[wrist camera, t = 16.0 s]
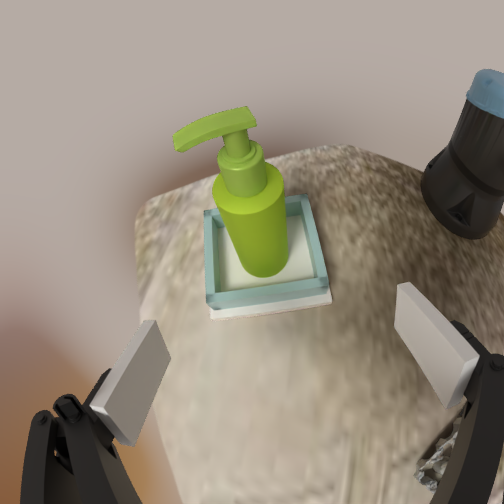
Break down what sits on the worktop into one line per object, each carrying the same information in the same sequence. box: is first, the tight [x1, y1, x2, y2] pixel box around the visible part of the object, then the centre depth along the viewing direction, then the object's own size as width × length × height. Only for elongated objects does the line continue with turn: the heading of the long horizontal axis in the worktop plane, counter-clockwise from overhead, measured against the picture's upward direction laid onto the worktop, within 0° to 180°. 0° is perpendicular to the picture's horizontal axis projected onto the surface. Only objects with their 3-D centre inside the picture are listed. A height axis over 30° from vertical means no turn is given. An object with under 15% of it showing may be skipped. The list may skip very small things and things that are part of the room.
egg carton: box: [414, 417, 462, 494], centre depth 17 cm, size 11×8×4 cm
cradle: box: [204, 194, 332, 321], centre depth 33 cm, size 14×14×4 cm
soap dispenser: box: [173, 106, 288, 278], centre depth 25 cm, size 6×7×20 cm
